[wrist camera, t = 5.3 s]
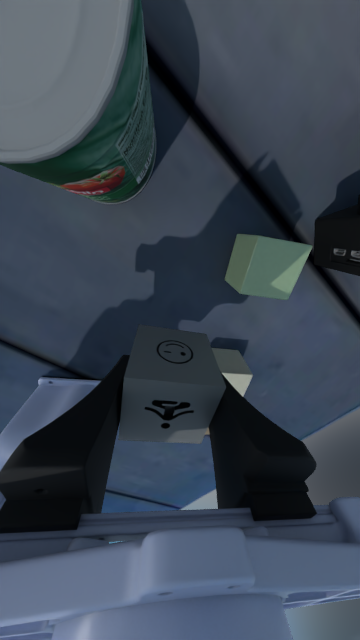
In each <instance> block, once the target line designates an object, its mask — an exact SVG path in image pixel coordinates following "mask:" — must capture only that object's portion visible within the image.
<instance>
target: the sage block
mask: <svg viewBox="0 0 360 640" xmlns="http://www.w3.org/2000/svg"><path fill="white" fill-rule="evenodd" d="M311 249H312V245H307V244H302V243H297V242H291V241H286V240H280V239H275V238H270V237H264V236H258V235H247V234H237V236H236V240H235V244H234V247H233V251H232V254H231V258H230V262H229V265H228V269H227V273H226V276H225V281H226V282H228V283H229V284H230V285H231V286H232V287H233V288H234V289H235V290H236V291H238V292H239V293H240V294H245V295H253V296H260V297H267V298H275V299H282V300H288V298H289V296H290V294H291V292H292V290H293V288H294V286H295V283H296V281H297V279H298V277H299V275H300V273H301V270H302V268H303V266H304V264H305V262H306V260H307V257H308V255H309V253H310V251H311Z"/></svg>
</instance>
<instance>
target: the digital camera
mask: <svg viewBox="0 0 360 640" xmlns="http://www.w3.org/2000/svg"><path fill="white" fill-rule="evenodd" d="M314 265H318V266H322V267H326V268H330V269H334V270H338V271H342V272H346V273H350V274H354V275H358V276H360V195H359V197H358V205H355V206H352V207H349V208H347V209H344V210H341V211H338V212H335V213H332V214H330V215H327V216H324V217H321V218H318V219H317V220H316V222H315V249H314Z"/></svg>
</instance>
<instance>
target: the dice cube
mask: <svg viewBox="0 0 360 640" xmlns="http://www.w3.org/2000/svg"><path fill="white" fill-rule="evenodd" d="M225 389H226V385H225V383H224V380H223V377H222V375H221V372H220V369H219V367H218V364H217V361H216V359H215V356H214V353H213V351H212V348H211V345H210V343H209V340H208V337H207V335H206V334H202V333H195V332H188V331H181V330H174V329H167V328H160V327H153V326H147V325H140V324H139V326H138V329H137V333H136V336H135V340H134V343H133V347H132V351H131V354H130V358H129V361H128V365H127V368H126V372H125V376H124V383H123V394H122V406H121V417H120V428H119V439H118V440H127V441H150V442H174V443H197V444H201V442H202V440H203V438H204V435H205V433H206V431H207V429H208V427H209V424H210V422H211V420H212V418H213V415H214V413H215V411H216V409H217V407H218V404H219V402H220V400H221V398H222V396H223V393H224V391H225Z"/></svg>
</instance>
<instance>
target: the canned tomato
mask: <svg viewBox="0 0 360 640" xmlns="http://www.w3.org/2000/svg"><path fill="white" fill-rule="evenodd" d="M156 146H157V145H156V131H155V126H154V117H153V107H152V98H151V89H150V79H149V68H148V60H147V50H146V40H145V31H144V23H143V10H142V4H141V0H0V165H3V166H5V167H7V168H10V169H12V170H15V171H17V172H21V173H23V174H26V175H28V176H31V177H34V178H36V179H39V180H41V181H44V182H47V183H49V184H52V185H55V186H57V187H60V188H62V189H65V190H68V191H71V192H73V193H76V194H78V195H81V196H84V197H86V198H89V199H91V200H93V201H96V202H98V203H103V204H120V203H123V202H127V201H129V200H130V199H132V198H134V197H135V196H136V195H138V194H139V193H140V192H141V191H142V190H143V188H144V187H145V185H146V184H147V183H148V181H149V178H150V176H151V174H152V171H153V167H154V163H155V159H156Z"/></svg>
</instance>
